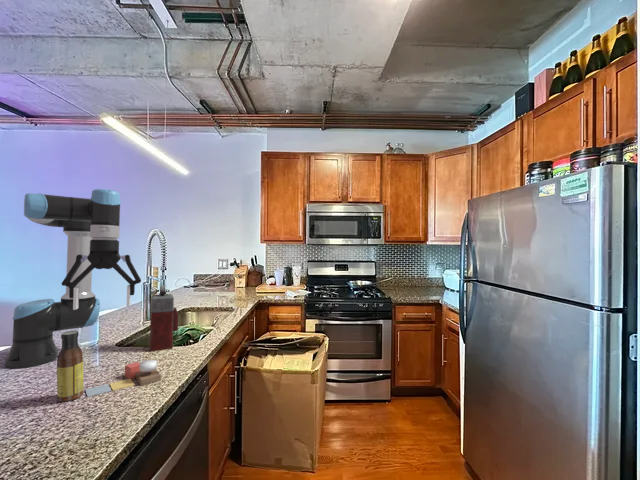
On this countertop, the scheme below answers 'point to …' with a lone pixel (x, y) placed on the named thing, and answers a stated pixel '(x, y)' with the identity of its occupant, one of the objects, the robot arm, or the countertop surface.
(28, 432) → the countertop surface
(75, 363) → the sauce bottle
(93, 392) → the square
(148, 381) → the brown flat block
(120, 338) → the countertop surface
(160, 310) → the dark red rectangular canister
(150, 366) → the dome
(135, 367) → the die
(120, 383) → the square
